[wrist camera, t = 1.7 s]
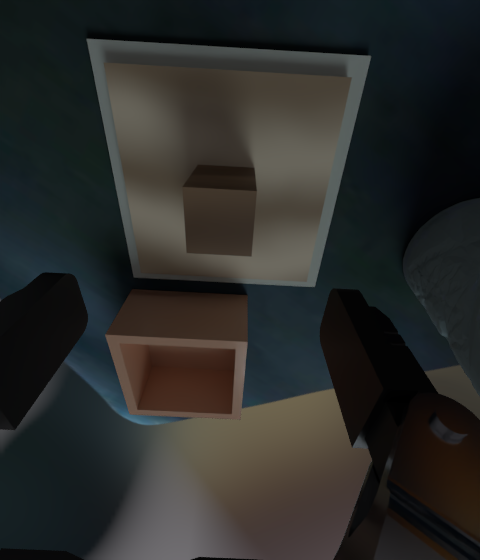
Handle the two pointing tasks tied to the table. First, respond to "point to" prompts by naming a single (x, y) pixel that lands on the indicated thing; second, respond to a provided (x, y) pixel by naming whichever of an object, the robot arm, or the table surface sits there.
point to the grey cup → (450, 279)
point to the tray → (241, 62)
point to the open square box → (181, 353)
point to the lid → (225, 166)
